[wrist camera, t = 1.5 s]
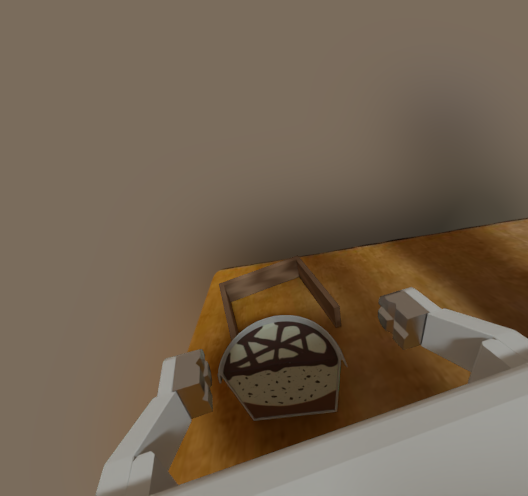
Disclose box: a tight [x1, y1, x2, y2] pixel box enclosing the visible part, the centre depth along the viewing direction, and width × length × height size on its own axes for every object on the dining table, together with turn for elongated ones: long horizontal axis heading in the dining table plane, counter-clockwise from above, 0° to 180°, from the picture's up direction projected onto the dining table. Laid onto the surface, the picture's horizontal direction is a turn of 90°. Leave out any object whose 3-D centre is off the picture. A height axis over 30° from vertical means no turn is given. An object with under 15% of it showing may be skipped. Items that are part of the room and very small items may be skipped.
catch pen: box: [219, 256, 341, 341], centre depth 40 cm, size 15×14×4 cm
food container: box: [218, 315, 348, 421], centre depth 28 cm, size 12×6×10 cm, turn 90°
